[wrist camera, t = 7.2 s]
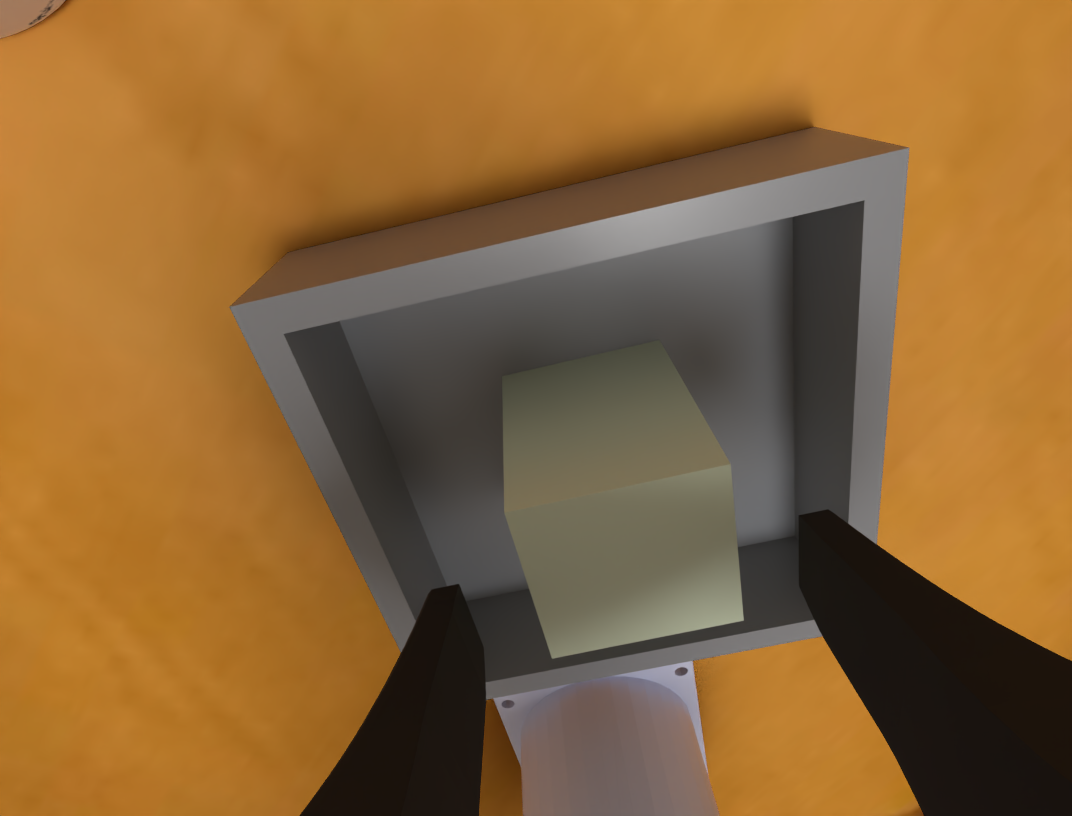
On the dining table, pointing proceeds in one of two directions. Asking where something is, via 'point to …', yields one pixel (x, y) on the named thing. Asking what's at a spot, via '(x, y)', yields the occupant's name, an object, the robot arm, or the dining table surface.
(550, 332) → the bin
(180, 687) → the dining table surface
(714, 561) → the block
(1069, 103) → the dining table surface
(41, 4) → the teacup with lid
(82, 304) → the dining table surface
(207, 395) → the dining table surface
